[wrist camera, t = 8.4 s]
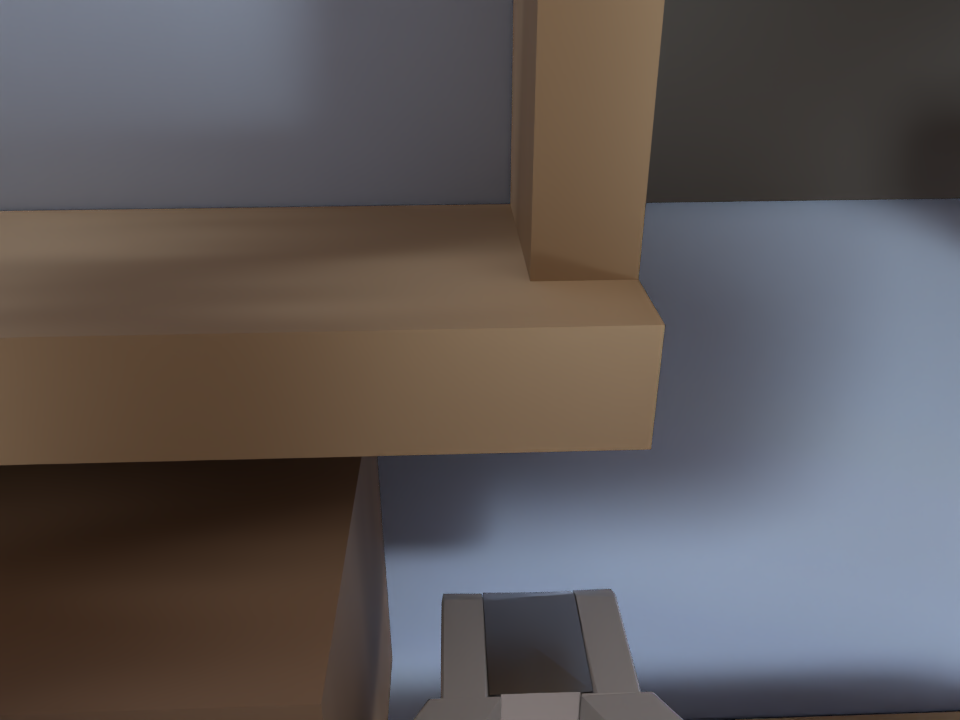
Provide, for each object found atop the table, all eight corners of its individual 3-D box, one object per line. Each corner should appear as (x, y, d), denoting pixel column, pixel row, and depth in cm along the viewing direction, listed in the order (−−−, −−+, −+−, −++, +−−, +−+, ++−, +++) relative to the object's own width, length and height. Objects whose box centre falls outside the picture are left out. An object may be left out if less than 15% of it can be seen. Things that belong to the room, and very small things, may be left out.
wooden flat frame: (1538, -261, 8) (2259, -398, 5) (978, 896, 17) (1101, 1114, 14) (-366, -273, 7) (-981, -438, 4) (102, 934, 16) (20, 1170, 13)
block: (372, 389, 11) (320, 704, 6) (392, 658, 13) (365, 1029, 9) (-11, 398, 11) (-343, 727, 6) (78, 669, 13) (-117, 1053, 8)
